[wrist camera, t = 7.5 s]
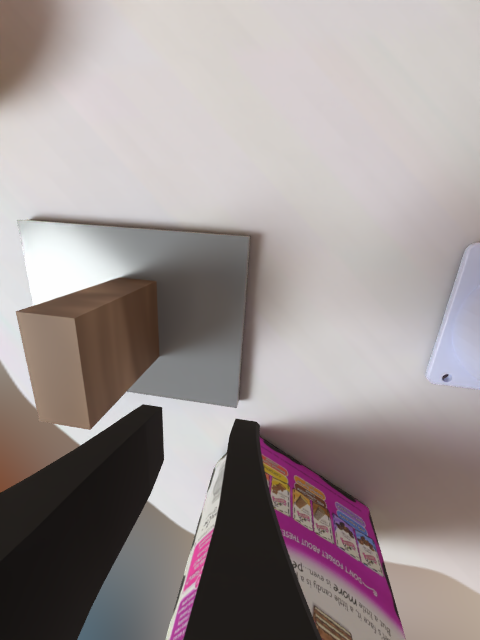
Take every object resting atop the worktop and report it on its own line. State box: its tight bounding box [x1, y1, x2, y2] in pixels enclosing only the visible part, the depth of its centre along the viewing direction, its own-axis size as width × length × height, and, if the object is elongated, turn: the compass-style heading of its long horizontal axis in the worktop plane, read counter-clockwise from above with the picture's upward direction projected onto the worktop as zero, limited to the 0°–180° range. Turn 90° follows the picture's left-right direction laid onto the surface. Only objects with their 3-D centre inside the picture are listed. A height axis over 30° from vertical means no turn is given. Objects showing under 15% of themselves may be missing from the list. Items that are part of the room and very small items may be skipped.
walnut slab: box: [16, 278, 159, 430], centre depth 15 cm, size 2×5×7 cm, turn 176°
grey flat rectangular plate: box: [17, 220, 250, 408], centre depth 18 cm, size 14×11×1 cm
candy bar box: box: [166, 437, 406, 640], centre depth 14 cm, size 11×5×16 cm, turn 56°
